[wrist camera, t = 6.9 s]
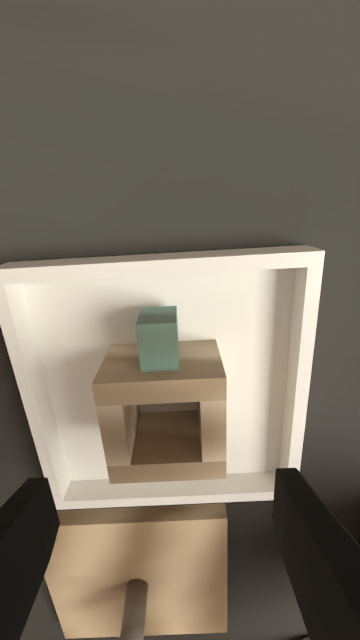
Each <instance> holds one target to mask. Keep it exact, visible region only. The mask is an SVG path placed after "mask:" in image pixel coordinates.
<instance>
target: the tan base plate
mask: <svg viewBox="0 0 360 640" xmlns="http://www.w3.org/2000/svg"><path fill="white" fill-rule="evenodd" d="M57 513H58V517H59V520H60V525H59V529H58V533H57V537H56V541H55V544H54V548H53V551H52V555H51V558H50V562H49V564H48V567H47V570H46V572H45V575H44V577H45V580H46V583H47V586H48V589H49V592H50V595H51V598H52V601H53V604H54V606H55V609H56V612H57V615H58V618H59V621H60V624H61V627H62V630H63V633H64V636H65V639H70V638H96V637H120V640H144V636H148V635H174V634H200V633H226V632H227V513H226V506H225V503H217V504H194V505H172V506H150V507H127V508H105V509H82V510H60V511H57Z"/></svg>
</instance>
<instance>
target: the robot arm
mask: <svg viewBox="0 0 360 640" xmlns="http://www.w3.org/2000/svg"><path fill="white" fill-rule="evenodd" d="M272 516H273V520H274V524H275V529H276V533H277V537H278V542H279V546H280V550H281V554H282V557H283V560H284V563H285V566H286V569H287V572H288V575H289V578H290V581H291V584H292V587H293V590H294V593H295V596H296V599H297V602H298V605H299V608H300V611H301V614H302V617H303V620H304V623H305V626H306V629H307V632H308V635H309V638H310V640H360V545H359V544H358V543H357V541H356V540H355V539H354V538H353V537H352V536H351V535H350V533H349V532H348V531H347V530H346V529H345V528H344V526H343V525H342V524H341V523H340V522H339V521H338V519H337V518H336V517H335V516H334V515H333V513H332V512H331V511H330V510H329V509H328V507H327V506H326V505H325V504H324V502H323V501H322V500H321V499H320V497H319V496H318V495H317V494H316V492H315V491H314V490H313V489H312V487H311V486H310V485H309V483H308V482H307V481H306V479H305V478H304V477H303V475H302V474H301V473H300V471H299V470H298V469H297V468H276V473H275V486H274V500H273V513H272ZM59 525H60V520H59V517H58V513H57V510H56V506H55V502H54V499H53V495H52V492H51V488H50V485H49V481H48V477H47V478H28V479H27V481H26V482H25V483H24V484H23V485H22V486H21V487H20V488H19V489H18V490H17V491H16V492H15V493H14V494H13V495H12V496H11V497H10V498H9V499H8V500H7V501H6V502H5V504H4V505H3V506H2V507H1V508H0V640H19V639H20V637H21V634H22V632H23V629H24V627H25V624H26V621H27V619H28V616H29V614H30V611H31V609H32V606H33V604H34V601H35V598H36V596H37V593H38V591H39V588H40V585H41V583H42V580H43V578H44V575H45V572H46V570H47V567H48V564H49V562H50V558H51V555H52V551H53V548H54V544H55V541H56V537H57V533H58V529H59Z"/></svg>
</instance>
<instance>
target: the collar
mask: <svg viewBox="0 0 360 640" xmlns="http://www.w3.org/2000/svg"><path fill="white" fill-rule="evenodd" d="M136 334H137V342H138V343H133V344H113V345H110V347H109V349H108V351H107V354H106V356H105V358H104V360H103V362H102V364H101V366H100V368H99V370H98V372H97V374H96V376H95V378H94V380H93V382H92V389H93V395H94V400H95V406H96V411H97V416H98V422H99V427H100V433H101V438H102V444H103V449H104V455H105V460H106V466H107V471H108V476H109V482H110V484H121V483H144V482H167V481H190V480H213V479H226V414H227V377H226V374H225V370H224V367H223V363H222V360H221V356H220V352H219V349H218V345H217V342H216V339H213V340H193V341H179V339H178V323H177V306H162V307H143V308H141V311H140V314H139V316H138V319H137V322H136ZM184 402H197V410H189V411H167V412H146V413H140V408H139V405H142V404H163V403H184Z"/></svg>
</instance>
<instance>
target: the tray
mask: <svg viewBox="0 0 360 640" xmlns="http://www.w3.org/2000/svg"><path fill="white" fill-rule="evenodd" d="M324 255H325V251H324V250H321V249H318V248H314V247H311V246H308V245H298V246H280V247H263V248H245V249H228V250H210V251H193V252H175V253H158V254H140V255H123V256H105V257H88V258H70V259H53V260H35V261H18V262H7V263H4V264H1V265H0V326H1V329H2V333H3V336H4V340H5V343H6V347H7V350H8V353H9V357H10V360H11V364H12V367H13V371H14V374H15V378H16V381H17V385H18V388H19V392H20V395H21V398H22V402H23V405H24V409H25V412H26V416H27V419H28V423H29V426H30V430H31V433H32V437H33V440H34V443H35V447H36V450H37V454H38V457H39V461H40V464H41V468H42V471H43V475H44V478H47V477H48V481H49V485H50V488H51V492H52V495H53V499H54V502H55V506H56V510H65V509H87V508H110V507H132V506H154V505H177V504H199V503H222V502H244V501H266V500H274V486H275V473H276V468H297V469H298V470H299V471H300V465H301V456H302V447H303V438H304V430H305V421H306V412H307V403H308V395H309V386H310V377H311V368H312V360H313V351H314V342H315V333H316V325H317V316H318V307H319V298H320V290H321V281H322V272H323V263H324ZM162 306H177V323H178V339H179V341H193V340H213V339H216V342H217V345H218V349H219V352H220V356H221V360H222V363H223V367H224V370H225V374H226V377H227V414H226V479H213V480H190V481H167V482H144V483H121V484H110V482H109V476H108V471H107V466H106V460H105V455H104V449H103V444H102V438H101V433H100V427H99V422H98V416H97V411H96V406H95V400H94V395H93V389H92V382H93V380H94V378H95V376H96V374H97V372H98V370H99V368H100V366H101V364H102V362H103V360H104V358H105V356H106V354H107V351H108V349H109V347H110V345H113V344H133V343H138V342H137V334H136V322H137V319H138V316H139V314H140V311H141V308H143V307H162ZM139 408H140V413H146V412H167V411H189V410H197V402H184V403H163V404H142V405H139Z"/></svg>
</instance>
